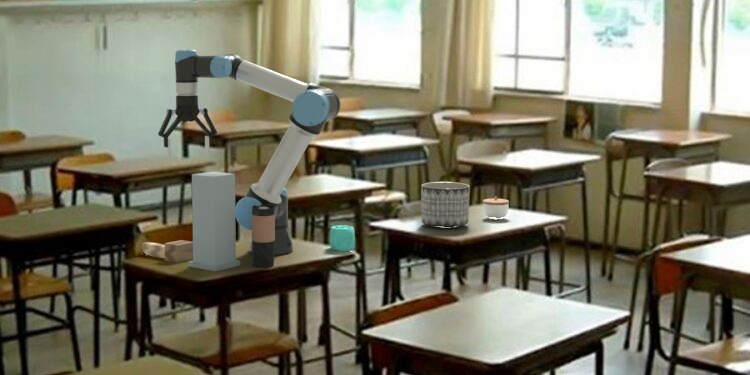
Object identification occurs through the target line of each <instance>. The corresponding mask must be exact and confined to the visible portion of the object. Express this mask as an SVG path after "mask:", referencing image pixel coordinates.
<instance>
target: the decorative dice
mask: <svg viewBox="0 0 750 375" xmlns="http://www.w3.org/2000/svg"><path fill="white" fill-rule="evenodd" d="M355 234H356V233H355V228H354V227H353V225H352V226H351V225H346V224H344V225H340V224H339V225H334V226H331V227H330V229H329V244H330V250H332V251H334V252H335V251H336V252H348V251H353V250H354V249H355V245H356V235H355Z"/></svg>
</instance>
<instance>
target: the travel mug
mask: <svg viewBox="0 0 750 375" xmlns="http://www.w3.org/2000/svg"><path fill="white" fill-rule="evenodd" d="M251 241H252V252H251V255H252V266H254V267H256V268H270V267H273V266H274V264H275V255H274V249H275V207H274V206H273V205H269V204H262V205H260V206H255V205H254V206H252V230H251Z"/></svg>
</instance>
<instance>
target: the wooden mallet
mask: <svg viewBox="0 0 750 375" xmlns="http://www.w3.org/2000/svg"><path fill="white" fill-rule="evenodd" d="M142 249H143V252H144V253H145V254H146V255H145V256H148V255H149V257H156V258H159V259H160V258H161V259H164V261H165V262H171V263H176V264H178V263H183V262H187V261H188V262H189V261H193V241H190V240H183V239H181V240H180V239H178V240H176V241H169V242H164V244H162V243H157V242H151V241H147V242H141V250H142Z"/></svg>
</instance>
